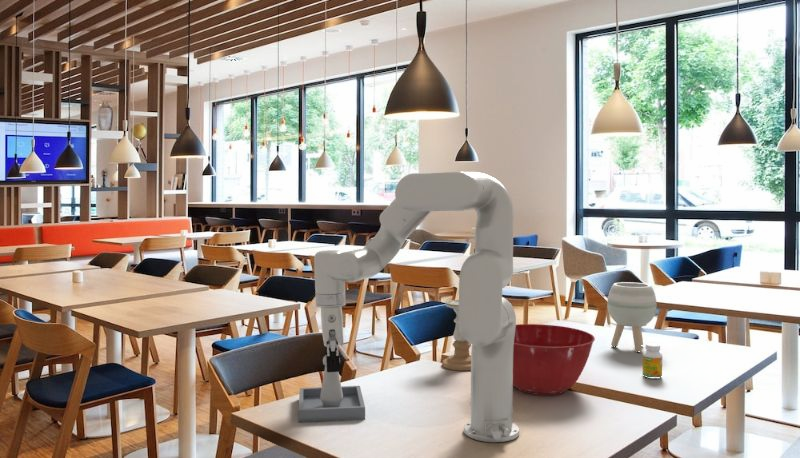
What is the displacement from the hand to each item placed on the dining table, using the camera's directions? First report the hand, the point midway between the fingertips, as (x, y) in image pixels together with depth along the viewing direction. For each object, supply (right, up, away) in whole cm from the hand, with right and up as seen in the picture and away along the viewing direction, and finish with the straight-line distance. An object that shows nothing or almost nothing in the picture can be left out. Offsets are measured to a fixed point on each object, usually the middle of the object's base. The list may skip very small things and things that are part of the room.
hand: (332, 366), depth 173 cm
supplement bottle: (+92, -9, +29) cm, 97 cm away
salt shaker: (0, -10, +1) cm, 10 cm away
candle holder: (+36, -8, +42) cm, 56 cm away
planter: (+97, -7, +64) cm, 116 cm away
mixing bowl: (+57, -10, +18) cm, 60 cm away
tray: (-1, -11, +1) cm, 11 cm away
